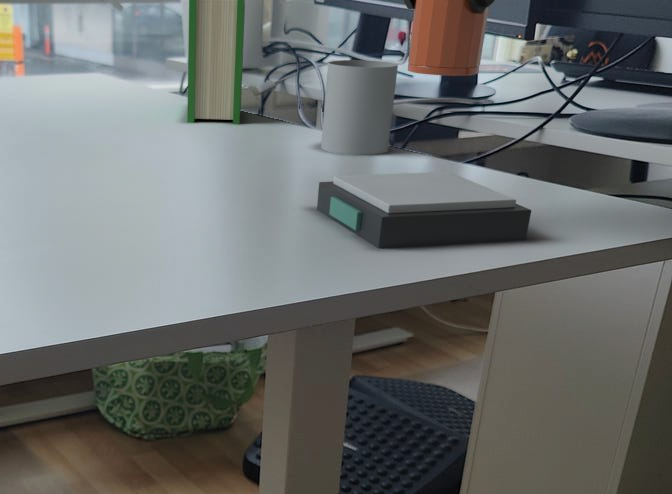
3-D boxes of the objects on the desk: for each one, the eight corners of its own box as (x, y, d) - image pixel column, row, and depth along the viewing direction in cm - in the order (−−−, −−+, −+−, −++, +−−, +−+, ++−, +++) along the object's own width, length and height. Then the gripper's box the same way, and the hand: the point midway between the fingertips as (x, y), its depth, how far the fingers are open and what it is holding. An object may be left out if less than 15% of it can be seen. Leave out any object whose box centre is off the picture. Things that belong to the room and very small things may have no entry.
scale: (447, 205, 95) (453, 169, 93) (525, 242, 83) (533, 201, 81) (312, 212, 91) (315, 174, 90) (373, 251, 80) (378, 208, 78)
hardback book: (239, 125, 136) (246, -71, 124) (187, 124, 136) (190, -72, 124) (240, 107, 151) (248, -69, 139) (194, 106, 152) (197, -70, 140)
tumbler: (456, 67, 86) (473, -48, 82) (491, 75, 81) (510, -47, 77) (395, 68, 85) (409, -49, 80) (427, 76, 80) (443, -49, 75)
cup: (315, 153, 118) (322, 65, 113) (326, 142, 125) (333, 59, 120) (383, 158, 116) (393, 68, 111) (391, 147, 123) (401, 62, 118)
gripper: (637, -122, 78) (526, 44, 77) (489, -116, 88) (388, 32, 87) (619, -209, 72) (499, -31, 72) (463, -193, 82) (355, -35, 81)
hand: (439, 3), depth 79 cm, fingers closed on tumbler, 6 cm apart
